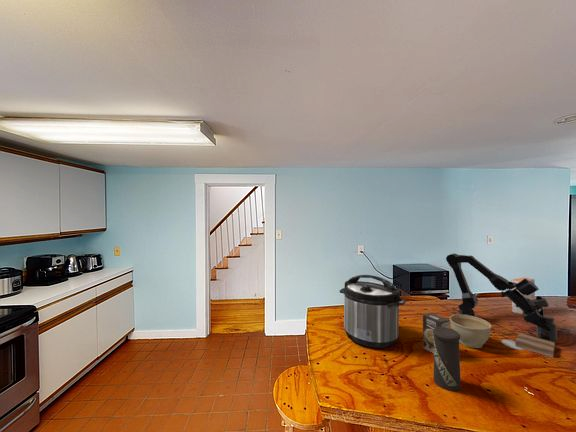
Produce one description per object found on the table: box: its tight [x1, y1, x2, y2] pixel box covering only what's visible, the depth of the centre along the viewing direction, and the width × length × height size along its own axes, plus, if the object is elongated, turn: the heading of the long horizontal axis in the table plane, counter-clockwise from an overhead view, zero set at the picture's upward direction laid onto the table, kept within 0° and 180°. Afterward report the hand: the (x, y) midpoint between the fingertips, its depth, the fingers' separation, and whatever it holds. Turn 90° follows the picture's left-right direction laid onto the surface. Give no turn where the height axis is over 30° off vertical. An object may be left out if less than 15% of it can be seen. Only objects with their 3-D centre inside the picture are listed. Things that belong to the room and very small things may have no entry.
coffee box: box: [422, 312, 451, 355], centre depth 110 cm, size 9×6×16 cm
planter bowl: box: [449, 314, 492, 349], centre depth 117 cm, size 16×16×11 cm
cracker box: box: [510, 277, 536, 316], centre depth 152 cm, size 14×6×21 cm, turn 111°
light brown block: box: [514, 332, 556, 358], centre depth 113 cm, size 12×12×2 cm
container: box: [433, 327, 462, 392], centre depth 90 cm, size 9×9×20 cm
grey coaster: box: [501, 339, 527, 351], centre depth 115 cm, size 9×9×1 cm
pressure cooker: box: [339, 274, 407, 348], centre depth 125 cm, size 30×28×32 cm
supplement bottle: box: [536, 314, 558, 345], centre depth 118 cm, size 7×7×12 cm
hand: (550, 328), depth 117 cm, fingers closed on supplement bottle, 7 cm apart
